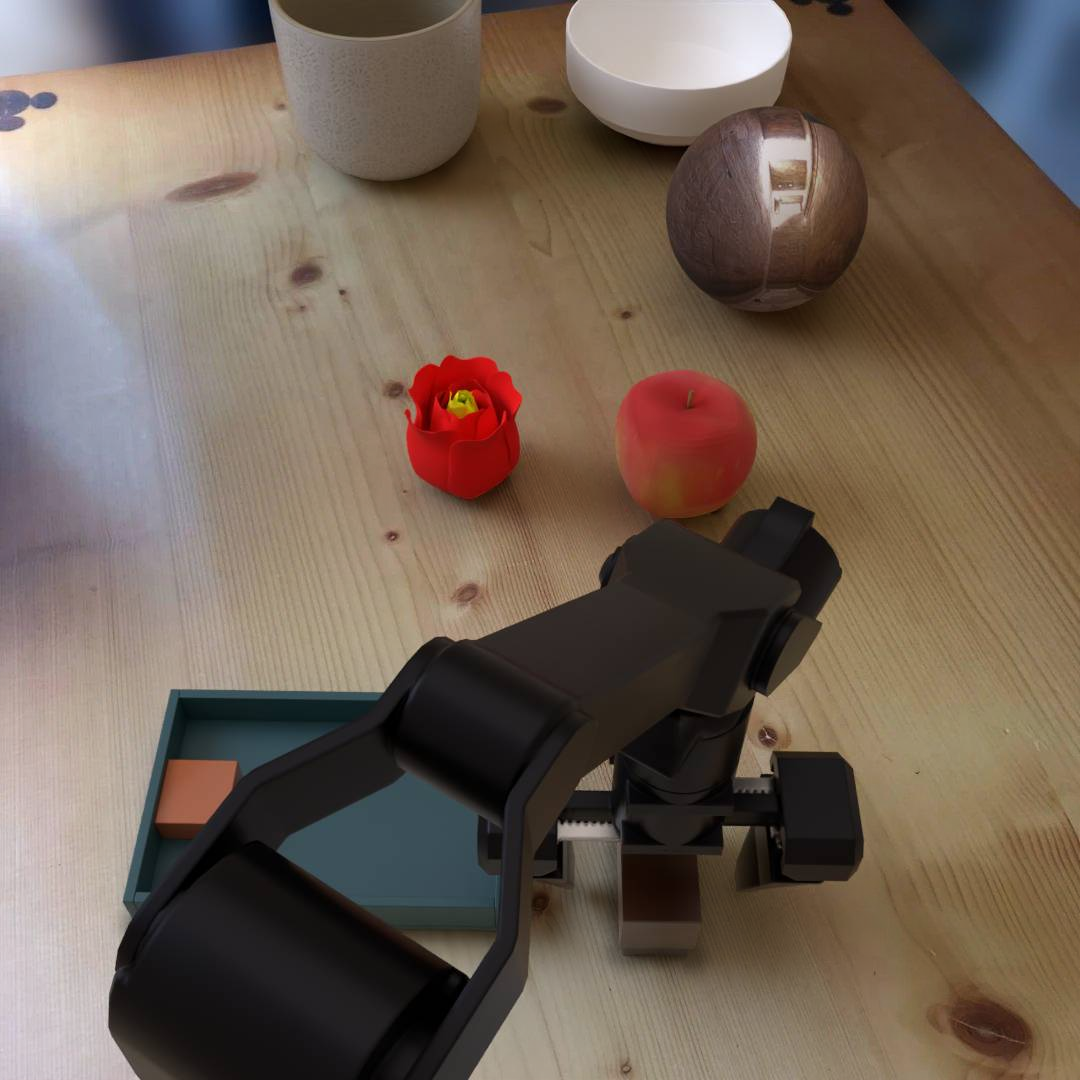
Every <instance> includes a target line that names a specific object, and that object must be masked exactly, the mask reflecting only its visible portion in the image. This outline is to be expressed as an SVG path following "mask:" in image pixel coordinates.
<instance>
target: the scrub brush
mask: <svg viewBox="0 0 1080 1080" xmlns="http://www.w3.org/2000/svg"><path fill="white" fill-rule="evenodd" d="M616 863H617V865H616V867H617V900H618V901H617V909H618V946H619V948H621V949H620V950H621V955H622V956H666V957H667V956H669V957H672V956H676V957H680V956H681V957H688V956H689V954H690V951H691V950H694V949H696V946H697V942H698V939H699V938H698V937H699V934H700V931H701V928H702V927H701V926H702V923H703V922H702V921H703V920H702V907H701V906H702V905H701V891H700V875H699V874H700V873H699V861H698V855H661V854H621V842H616Z"/></svg>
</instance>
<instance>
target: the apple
mask: <svg viewBox="0 0 1080 1080" xmlns="http://www.w3.org/2000/svg"><path fill="white" fill-rule="evenodd" d="M622 399H623V400H622V402H621V404H620V405H619V409H618V411H617V414H616V418H615V424H614V433H613V434H614V435H613V436H614V437H613V439H614V451H615V456H616V457H615V458H616V461H617V464H618V468H619V471H620V474H621V477H622V480H623V483H624V484H625V487H626V488H627V490H628V492H629V494H630V496H631V498H633V500H634V502H636V503H637V504H638V506H640V507H641V508H642V510H644V511H645V512H646V513H648V514H650V515H651V516H654V517H657V518H663V519H684V518H693V517H699V516H703V515H707V514H710V513H713V512H715V511H717V510H719V509H721V508H722V507H724V506H725V505H726V504H727V503H728V502H730V500H732V499H733V497H735V495H737V494H738V492H739V491H740V490H741V488H742V487H743V486H744V485H745V483H746V481H747V479H748V478H749V476H750V474H751V472H752V469H753V466H754V465H755V464H754V463H755V460H756V456H757V449H758V431H757V423H756V420H755V417H754V414H753V412H752V409H751V408H750V406H749V405H748V403H747V401H746V400H745V399H744V398H743V396H742V395H741V394H740V393H739V392H738V391H737V389H735V388H733V387H732V386H731V385H729V384H728V383H726V382H724V381H723V380H720V379H718V378H716V377H714V376H711V375H710V374H707V373H705V372H702V371H698V370H693V369H675V370H669V371H663V372H659V373H656V374H653V375H650V376H648V377H645V378H643V379H640V381H638V382H636V383H635V384H634V385H632V387H631V388H630V389H629V390H628V391H627V393H626V394H625V395H624V398H622Z"/></svg>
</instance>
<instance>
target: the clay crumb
mask: <svg viewBox="0 0 1080 1080" xmlns="http://www.w3.org/2000/svg"><path fill="white" fill-rule="evenodd" d="M242 778H243V774H242V772H241V769H240V766H239V763H238V761H227V760H168V764H167V768H166V773H165V777H164V782H163V786H162V791H161V795H160V800H159V804H158V809H157V813H156V818H155V822H154V823H155V825H156V827H157V829H158V831H159V833H160V835H161V837H162V839H194V837H195V836H196V835H197V834H198V832H199V831H200V830H201V828H202V827H203V826H204V825H205V823H206V822H207V821H208V820H209V818H210V817H211V816H212V815H213V813H214V812H215V811H216V810H217V808H218V807H219V806H220V804H221V803H222V802H223V801H224V799H225V798H226V797H227V796H228V794H229V793H230V792H231V791H232V789H233V788H234V787H235V786H236V784H237V783H238V782H239V781H240V779H242Z"/></svg>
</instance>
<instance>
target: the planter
mask: <svg viewBox="0 0 1080 1080" xmlns="http://www.w3.org/2000/svg"><path fill="white" fill-rule="evenodd" d="M267 1H268V6H269V12H270V13H269V14H270V18H271V24H272V29H273V33H274V34H273V35H274V38H275V43H276V48H277V49H276V50H277V53H278V58H279V64H280V69H281V74H282V79H283V84H284V88H285V91H286V96H287V100H288V103H289V107H290V110H291V113H292V117H293V120H294V122H295V125H296V127H297V131H298V132H299V134H300V135H301V138H302V139H303V140H304V143H305V144H306V146H307V147H308V148H309V149H310V150H311V151H312V153H314V154H315V155H316V156H317V157H318V158H319V159H320V160H322V161H323V162H324V163H326V164H328V165H329V166H331V167H333V168H335V170H338V171H340V172H343V173H345V174H347V175H349V176H353V177H356V178H360V179H363V180H369V181H376V182H377V181H378V182H393V181H395V182H396V181H402V180H408V179H412V178H416V177H419V176H422V175H425V174H427V173H429V172H431V171H434V170H435V169H437V168H439V167H441V166H442V165H443V164H445V163H446V162H448V161H449V160H450V159H451V158H453V157H454V156H455V155H456V154H457V153H458V152H459V151H460V150H461V149H462V148H463V146H464V145H465V144H466V142H467V141H469V139H470V136H471V134H472V132H473V130H474V128H475V125H476V122H477V118H478V114H479V108H480V100H481V93H482V64H483V63H482V62H483V61H482V59H483V58H482V57H483V55H482V48H483V47H482V0H267Z"/></svg>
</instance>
